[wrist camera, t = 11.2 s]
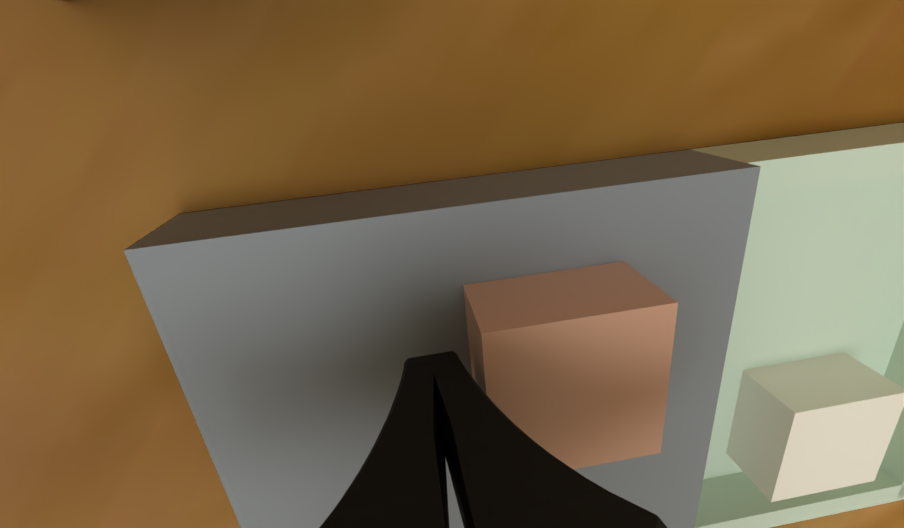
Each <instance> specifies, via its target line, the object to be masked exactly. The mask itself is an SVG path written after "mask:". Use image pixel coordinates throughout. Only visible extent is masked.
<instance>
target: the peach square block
mask: <svg viewBox="0 0 904 528" xmlns="http://www.w3.org/2000/svg"><path fill="white" fill-rule="evenodd" d="M463 290H464V300H465V310H466V320H467V330H468V341H469V351H470V361H471V371H472V378H473V379H474V380H475V382H476V383H477V384H478V385H479V387H480V388H481V389H482V390H483V391H484V392H485V394H486V395H487V396H488V397H489V398H490V399H491V400H492V402H493V403H494V404H495V405H496V406H497V407H498V408H499V409H500V410H501V411H502V412H503V413H504V414H505V415H506V416H507V417H508V418H509V419H510V420H511V421H512V422H513V423H514V424H515V425H516V426H517V427H519V428H520V429H521V430H522V431H523V432H524V433H525V434H527V435H528V436H529V437H530V438H531V439H532V440H534V441H535V442H536V443H537V444H539V445H540V446H541V447H542V448H544V449H545V450H546V451H548V452H549V453H550V454H552V455H553V456H554V457H556V458H557V459H559V460H560V461H562V462H563V463H565V464H566V465H568V466H569V467H571V468H572V469H578V468H583V467H589V466H594V465H599V464H604V463H610V462H615V461H620V460H626V459H631V458H636V457H641V456H647V455H652V454H657V453H661V446H662V438H663V429H664V420H665V412H666V403H667V394H668V386H669V377H670V368H671V360H672V351H673V342H674V334H675V325H676V316H677V308H678V302H677V301H675V300H674V299H673V298H671V297H670V296H669V295H668V294H666V293H665V292H664V291H662V290H661V289H660V288H658V287H657V286H656V285H654V284H653V283H652V282H650V281H649V280H648V279H646V278H645V277H644V276H642V275H641V274H640V273H638V272H637V271H636V270H634V269H633V268H632V267H631V266H629V265H628V264H627V263H625V262H624V261H621V262H615V263H608V264H601V265H594V266H588V267H581V268H574V269H567V270H561V271H554V272H547V273H541V274H534V275H527V276H520V277H514V278H507V279H500V280H493V281H487V282H480V283H473V284H466V285H463Z"/></svg>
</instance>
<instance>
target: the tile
mask: <svg viewBox="0 0 904 528" xmlns="http://www.w3.org/2000/svg"><path fill="white" fill-rule="evenodd" d="M903 407H904V388H903V387H901V386H899V385H898V384H896V383H894V382H893V381H891V380H889V379H888V378H886V377H884V376H883V375H881V374H879V373H878V372H876V371H874V370H873V369H871V368H869V367H868V366H866V365H864V364H863V363H861V362H859V361H858V360H856V359H854V358H853V357H851V356H849V355H848V354H846V353H838V354H833V355H827V356H821V357H816V358H810V359H804V360H799V361H793V362H787V363H782V364H776V365H771V366H765V367H759V368H754V369H748V370H743V373H742V378H741V383H740V388H739V393H738V398H737V402H736V407H735V412H734V417H733V422H732V427H731V432H730V437H729V442H728V447H727V452H726V453H727V454H728V455H729V457H730V458H731V459H732V460H733V461H734V462H735V463H736V464H737V465H738V466H739V468H740V469H741V470H742V471H743V472H744V473H745V474H746V475H747V476H748V477H749V479H750V480H751V481H752V482H753V483H754V484H755V485H756V486H757V487H758V488H759V490H760V491H761V492H762V493H763V494H764V495H765V496H766V497H767V498H768V500H769V501H770V502H774V501H779V500H784V499H789V498H794V497H799V496H804V495H808V494H813V493H818V492H823V491H828V490H833V489H837V488H842V487H847V486H852V485H857V484H862V483H866V482H871V481H874V480H875V478H876V475H877V473H878V470H879V468H880V465H881V463H882V460H883V458H884V455H885V452H886V450H887V447H888V445H889V442H890V440H891V437H892V435H893V432H894V430H895V427H896V425H897V422H898V420H899V417H900V415H901V412H902V410H903Z"/></svg>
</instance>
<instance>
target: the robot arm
mask: <svg viewBox="0 0 904 528" xmlns="http://www.w3.org/2000/svg"><path fill="white" fill-rule="evenodd" d="M445 457H446V458H445ZM446 461H447V465H448V468H449V472H450V476H451V480H452V484H453V488H454V492H455V495H456V499H457V503H458V507H459V511H460V515H461V518H462V522H463V526H464V528H667V526H666V525H665V524H664V523H663V521H662V520H661V519H660V518H659V517H658V516H657V515H656V514H654V513H652V512H650V511H648V510H646V509H644V508H642V507H639V506H637V505H635V504H633V503H631V502H629V501H627V500H625V499H623V498H621V497H619V496H617V495H615V494H613V493H611V492H609V491H608V490H606V489H604V488H602V487H601V486H599V485H597V484H596V483H594V482H592V481H590V480H589V479H587V478H585V477H584V476H582V475H581V474H579V473H578V472H577V471H575V470H574V469H572V468H571V467H569V466H568V465H566V464H565V463H563V462H562V461H560V460H559V459H557V458H556V457H554V456H553V455H552V454H550V453H549V452H548V451H546V450H545V449H544V448H542V447H541V446H540V445H539V444H537V443H536V442H535V441H534V440H532V439H531V438H530V437H529V436H528V435H527V434H525V433H524V432H523V431H522V430H521V429H520V428H519V427H517V426H516V425H515V424H514V423H513V422H512V421H511V420H510V419H509V418H508V417H507V416H506V415H505V414H504V413H503V412H502V411H501V410H500V409H499V408H498V407H497V406H496V405H495V404H494V403H493V402H492V400H491V399H490V398H489V397H488V396H487V395H486V394H485V392H484V391H483V390H482V389H481V388H480V387H479V385H478V384H477V383H476V382H475V380H474V379H473V378H472V376H471V375H470V374H469V372H468V371H467V370H466V368H465V367H464V365H463V364H462V362H461V360H460V359H459V357H458V355H457V354H456V353H455V352H454V351H449V352H443V353H437V354H431V355H425V356H419V357H412V358H408V359H407V360H406V361H405V362H404V368H403V373H402V377H401V380H400V384H399V387H398V390H397V393H396V396H395V398H394V401H393V404H392V406H391V409H390V411H389V414H388V416H387V419H386V421H385V423H384V425H383V427H382V429H381V431H380V433H379V436H378V438H377V440H376V442H375V444H374V446H373V448H372V449H371V451H370V453H369V455H368V457H367V459H366V460H365V462H364V464H363V465H362V467H361V469H360V471H359V472H358V474H357V475H356V477H355V478H354V480H353V482H352V483H351V485H350V486H349V488H348V489H347V491H346V492H345V494H344V495H343V497H342V498H341V500H340V501H339V502H338V504H337V505H336V507H335V508H334V509H333V511H332V512H331V513H330V515H329V516H328V517H327V518H326V520H325V521H324V522H323V524H322V525H321V526H320V527H319V528H449V511H448V493H447V476H446Z"/></svg>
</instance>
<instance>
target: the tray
mask: <svg viewBox="0 0 904 528" xmlns="http://www.w3.org/2000/svg"><path fill="white" fill-rule="evenodd" d="M690 150H694V151H698V152H702V153H707V154H711V155H715V156H719V157H724V158H728V159H732V160H736V161H740V162H745V163H749V164H753V165H757V166H761V168H760V173H759V179H758V184H757V190H756V195H755V200H754V206H753V211H752V217H751V222H750V228H749V233H748V239H747V244H746V249H745V255H744V260H743V266H742V271H741V277H740V282H739V287H738V293H737V298H736V304H735V309H734V315H733V320H732V326H731V331H730V336H729V342H728V347H727V353H726V358H725V364H724V369H723V375H722V380H721V385H720V391H719V396H718V402H717V407H716V413H715V418H714V423H713V429H712V434H711V440H710V445H709V451H708V456H707V462H706V467H705V472H704V478H703V483H702V489H701V494H700V500H699V505H698V511H697V516H696V521H695V527H694V528H770V527H775V526H780V525H784V524H789V523H794V522H799V521H803V520H808V519H813V518H818V517H822V516H827V515H832V514H837V513H841V512H846V511H851V510H856V509H860V508H865V507H870V506H875V505H879V504H884V503H889V502H894V501H898V500H903V499H904V407H903V410H902V412H901V415H900V417H899V420H898V422H897V425H896V427H895V430H894V432H893V435H892V437H891V440H890V442H889V445H888V447H887V450H886V452H885V455H884V458H883V460H882V463H881V465H880V468H879V470H878V473H877V475H876V478H875V480H874V481H871V482H866V483H862V484H857V485H852V486H847V487H842V488H837V489H833V490H828V491H823V492H818V493H813V494H808V495H804V496H799V497H794V498H789V499H784V500H779V501H774V502H770V501H769V500H768V498H767V497H766V496H765V495H764V494H763V493H762V492H761V491H760V490H759V488H758V487H757V486H756V485H755V484H754V483H753V482H752V481H751V480H750V479H749V477H748V476H747V475H746V474H745V473H744V472H743V471H742V470H741V469H740V468H739V466H738V465H737V464H736V463H735V462H734V461H733V460H732V459H731V458H730V457H729V455H728V454H727V453H726V452H727V447H728V442H729V437H730V432H731V427H732V422H733V417H734V412H735V407H736V402H737V398H738V393H739V388H740V383H741V378H742V373H743V370H748V369H754V368H759V367H765V366H771V365H776V364H782V363H787V362H793V361H799V360H804V359H810V358H816V357H821V356H827V355H833V354H838V353H846V354H848V355H849V356H851V357H853V358H854V359H856V360H858V361H859V362H861V363H863V364H864V365H866V366H868V367H869V368H871V369H873V370H874V371H876V372H878V373H879V374H881V375H883V376H884V377H886V378H888V379H889V380H891V381H893V382H894V383H896V384H898V385H899V386H901V387H903V388H904V122H903V123H895V124H887V125H879V126H871V127H864V128H856V129H848V130H840V131H832V132H824V133H816V134H808V135H800V136H792V137H784V138H776V139H768V140H760V141H752V142H745V143H737V144H729V145H721V146H713V147H705V148H697V149H690Z"/></svg>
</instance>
